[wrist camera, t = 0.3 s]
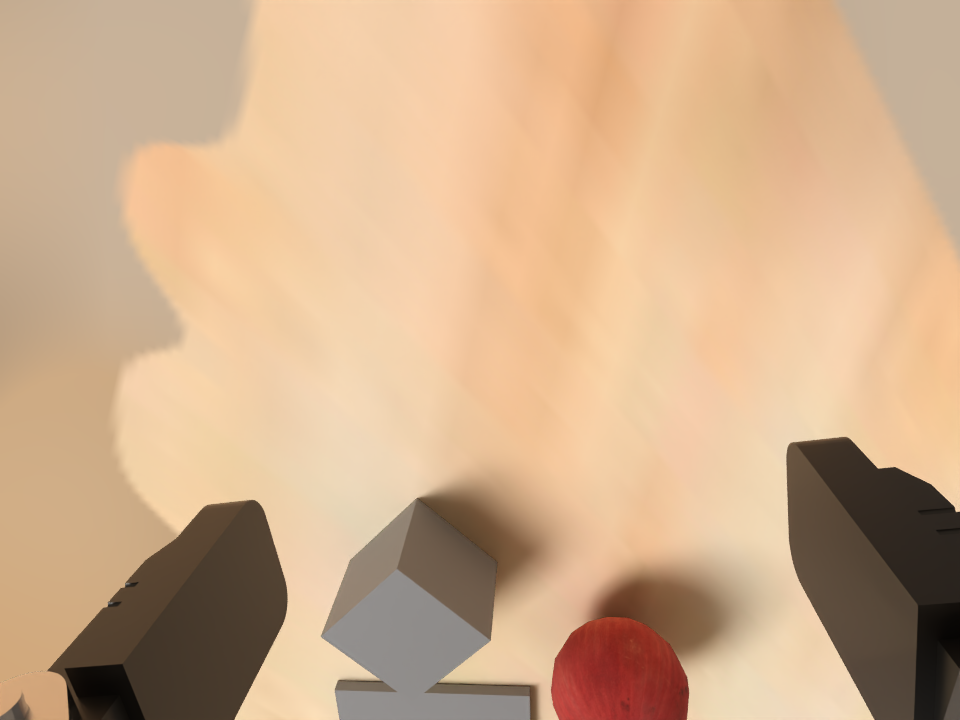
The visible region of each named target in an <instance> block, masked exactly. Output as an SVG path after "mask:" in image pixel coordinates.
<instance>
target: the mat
mask: <svg viewBox="0 0 960 720" xmlns="http://www.w3.org/2000/svg"><path fill="white" fill-rule="evenodd" d="M335 695H336V701H337V707H338V713H339V719H340V720H531V717H530V687H528V686H494V685H459V684H435V685H433V686H432V687H431V688H430V689H428V690H427V691H426V692H424V693H423V694H422V695H421V696H419V697H418V698H417V699H416V700H414V701H413V702H411V701H409V700H408V699H407V698H405V697H404V696H403V695H401V694H400V693H398V692H397V691H396V690H394V689H393V688H391V687H390V686H389V685H387V684H386V683H384V682H356V681H338V682H337V685H336V688H335Z"/></svg>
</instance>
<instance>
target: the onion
mask: <svg viewBox="0 0 960 720" xmlns="http://www.w3.org/2000/svg"><path fill="white" fill-rule="evenodd" d="M551 693H552V700H553V706H554V709H555V711H556V713H557V715H558V718H559V720H687V712H688V699H689V688H688V680H687V676H686V674H685V672H684V670H683V668H682V666H681V664H680V662H679V660H678V658H677V656H676V654H675V653H674V651H673V649H672V647H671V646H670V644H669V643H668V642H666V641H665V640H664V639H663V638H662V637H660V636H659V635H658V634H657V633H656V632H655V631H653V630H652V629H651V628H649V627H648V626H647V625H645V624H643V623H640V622H637V621H635V620H632V619H630V618H622V617H605V618H601V619H597V620H593V621H590V622H587V623H586V624H584V625H583V626H581V627H580V628H578V629H577V630H575V631H573V632H572V633H571V635H570V636H569V638H568V639H567V641H566V643H565V644H564V646H563V647H562V649H561V650H560V652H559V654H558V655H557V657H556V658H555V663H554V670H553V678H552V687H551Z"/></svg>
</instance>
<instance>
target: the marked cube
mask: <svg viewBox="0 0 960 720" xmlns="http://www.w3.org/2000/svg"><path fill="white" fill-rule="evenodd" d="M496 572H497V562H496V561H495V560H494V559H493V558H491V557H490V556H489V555H488V554H486V553H485V552H484V551H483V550H481V549H480V548H479V547H478V546H476V545H475V544H474V543H473V542H471V541H470V540H469V539H468V538H467V537H465V536H464V535H463V534H462V533H460V532H459V531H458V530H457V529H455V528H454V527H453V526H452V525H450V524H449V523H448V522H447V521H445V520H444V519H443V518H442V517H440V516H439V515H438V514H437V513H435V512H434V511H433V510H432V509H430V508H429V507H428V506H427V505H425V504H424V503H423V502H422V501H420V500H419V499H418V498H417V499H415V500H414V501H413V502H412V503H411V504H410V505H409V506H408V507H407V508H406V509H405V510H404V511H403V512H402V513H400V514H399V515H398V516H397V517H396V518H395V519H394V520H393V521H392V522H391V523H390V524H389V525H388V526H386V527H385V528H384V529H383V530H382V531H381V532H380V533H379V534H378V535H377V536H376V537H375V538H374V539H373V540H371V541H370V542H369V543H368V544H367V545H366V546H365V547H364V548H363V549H362V550H361V551H360V552H359V553H358V554H356V555H355V556H354V557H353V558H352V559H351V560H350V562H349V565H348V567H347V570H346V573H345V575H344V578H343V580H342V583H341V586H340V588H339V591H338V593H337V596H336V599H335V601H334V604H333V606H332V609H331V612H330V614H329V617H328V619H327V622H326V625H325V627H324V630H323V632H322V635H321V637H322V638H323V639H325V640H326V641H327V642H329V643H330V644H332V645H333V646H334V647H336V648H337V649H339V650H340V651H341V652H343V653H344V654H345V655H347V656H348V657H350V658H351V659H352V660H354V661H355V662H357V663H358V664H359V665H361V666H362V667H364V668H365V669H366V670H368V671H369V672H371V673H372V674H373V675H375V676H376V677H377V678H379V679H380V680H382V681H383V682H384V683H386V684H387V685H389V686H390V687H391V688H393V689H394V690H396V691H397V692H398V693H400V694H401V695H403V696H404V697H405V698H407V699H408V700H409V701H411V702H413V701H414V700H416V699H417V698H418V697H419V696H421V695H422V694H423V693H424V692H426V691H427V690H428V689H430V688H431V687H432V686H433V685H435V684H436V683H437V682H439V681H440V680H441V679H442V678H444V677H445V676H446V675H447V674H449V673H450V672H451V671H453V670H454V669H455V668H456V667H458V666H459V665H460V664H461V663H463V662H464V661H465V660H467V659H468V658H469V657H470V656H472V655H473V654H474V653H475V652H477V651H478V650H479V649H481V648H482V647H483V646H484V645H486V644H487V643H488V642H489V641H491V631H492V619H493V607H494V596H495V584H496Z"/></svg>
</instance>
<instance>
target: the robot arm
mask: <svg viewBox="0 0 960 720" xmlns="http://www.w3.org/2000/svg"><path fill="white" fill-rule="evenodd" d="M787 492H788V523H789V543H790V550H791V555H792V560H793V564H794V567H795V571H796V574H797V576H798V579H799V581H800V583H801V585H802V587H803V589H804V591H805V593H806V594H807V596H808V598H809V600H810V602H811V604H812V605H813V607H814V609H815V611H816V613H817V615H818V616H819V618H820V620H821V622H822V624H823V626H824V627H825V629H826V631H827V633H828V635H829V637H830V638H831V640H832V642H833V644H834V646H835V648H836V650H837V651H838V653H839V655H840V657H841V659H842V661H843V662H844V664H845V666H846V668H847V670H848V672H849V673H850V675H851V677H852V679H853V681H854V683H855V684H856V686H857V688H858V690H859V692H860V694H861V696H862V697H863V699H864V701H865V703H866V705H867V707H868V708H869V710H870V712H871V714H872V716H873V718H874V719H875V720H960V512H956V511H955V507H954V506H953V505H952V504H951V503H950V502H949V501H948V500H947V499H946V498H945V497H944V496H943V495H941V494H940V493H939V492H938V491H937V490H936V489H935V488H934V487H933V486H932V485H931V484H929V483H927V482H925V481H923V480H921V479H919V478H917V477H914V476H912V475H910V474H908V473H906V472H904V471H902V470H900V469H898V468H896V467H892V468H882V469H878V468H877V467H876V466H875V465H874V464H873V463H872V462H871V461H870V460H869V459H868V458H867V457H866V455H865V454H864V453H863V452H862V451H861V450H860V449H859V448H858V447H857V446H856V445H855V444H854V443H853V442H852V441H851V440H850V439H849V438H847V437H839V438H830V439H821V440H812V441H802V442H793V443H790V444H789V446H788V449H787ZM286 611H287V587H286V582H285V578H284V575H283V572H282V568H281V565H280V562H279V558H278V555H277V552H276V548H275V545H274V542H273V539H272V535H271V532H270V529H269V525H268V522H267V519H266V515H265V513H264V510H263V508H262V507H261V505H260V504H259V503H258V502H257V501H255V500H247V501H238V502H229V503H220V504H211V505H207V506H205V507H204V508H203V509H202V510H201V511H200V512H199V513H198V514H197V515H196V516H195V518H194V519H193V520H192V521H191V522H190V523H189V525H188V526H187V527H186V528H185V529H184V530H183V532H182V533H181V534H180V535H179V536H178V537H177V538H176V539H175V540H174V541H172V542H171V543H169V544H168V545H167V546H165V547H164V548H162V549H161V550H160V551H158V552H157V553H155V554H154V555H152V556H151V557H150V558H148V559H147V560H146V561H145V562H144V563H143V564H142V565H141V566H140V567H139V568H138V570H137V571H136V572H135V573H134V574H133V575H132V576H131V577H130V578H129V580H128V581H127V582H126V583H125V588H121V589H120V590H119V591H118V592H117V593H116V594H115V595H114V596H113V598H112V599H111V600H110V601H109V602H108V607H106V608H103V609H102V610H101V611H100V612H99V613H98V614H97V616H96V617H95V618H94V619H93V620H92V621H91V622H90V623H89V624H88V626H87V627H86V628H85V629H84V630H83V631H82V632H81V633H80V635H79V636H78V637H77V638H76V639H75V640H74V641H73V642H72V644H71V645H70V646H69V647H68V648H67V649H66V650H65V652H64V653H63V654H62V655H61V656H60V657H59V658H58V659H57V660H56V662H55V663H54V664H53V665H52V666H51V667H50V668H49V669H48V671H40V672H32V673H27V674H23V675H20V676H17V677H14V678H11V679H8V680H6V681H3V682H1V683H0V720H234V719H235V717H236V715H237V713H238V711H239V709H240V707H241V705H242V703H243V701H244V699H245V697H246V695H247V693H248V691H249V689H250V688H251V686H252V684H253V682H254V680H255V678H256V676H257V674H258V672H259V670H260V668H261V666H262V664H263V662H264V660H265V658H266V656H267V654H268V652H269V650H270V648H271V646H272V644H273V642H274V641H275V639H276V637H277V635H278V633H279V631H280V629H281V627H282V625H283V622H284V619H285V616H286Z"/></svg>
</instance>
